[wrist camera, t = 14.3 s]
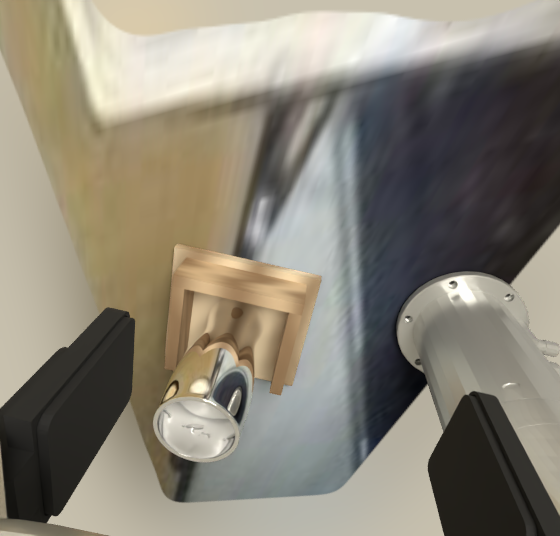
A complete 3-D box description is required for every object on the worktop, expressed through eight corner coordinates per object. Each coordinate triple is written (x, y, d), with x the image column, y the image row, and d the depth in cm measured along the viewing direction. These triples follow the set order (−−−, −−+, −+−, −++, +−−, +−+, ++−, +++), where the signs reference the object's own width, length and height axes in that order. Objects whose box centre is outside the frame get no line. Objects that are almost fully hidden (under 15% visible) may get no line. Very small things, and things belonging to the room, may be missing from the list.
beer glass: (269, 350, 45) (243, 468, 31) (207, 345, 45) (156, 460, 32) (268, 294, 42) (240, 399, 28) (202, 291, 42) (143, 391, 29)
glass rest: (321, 276, 41) (320, 300, 37) (292, 380, 47) (289, 412, 43) (177, 243, 41) (159, 264, 37) (167, 351, 47) (151, 380, 43)
